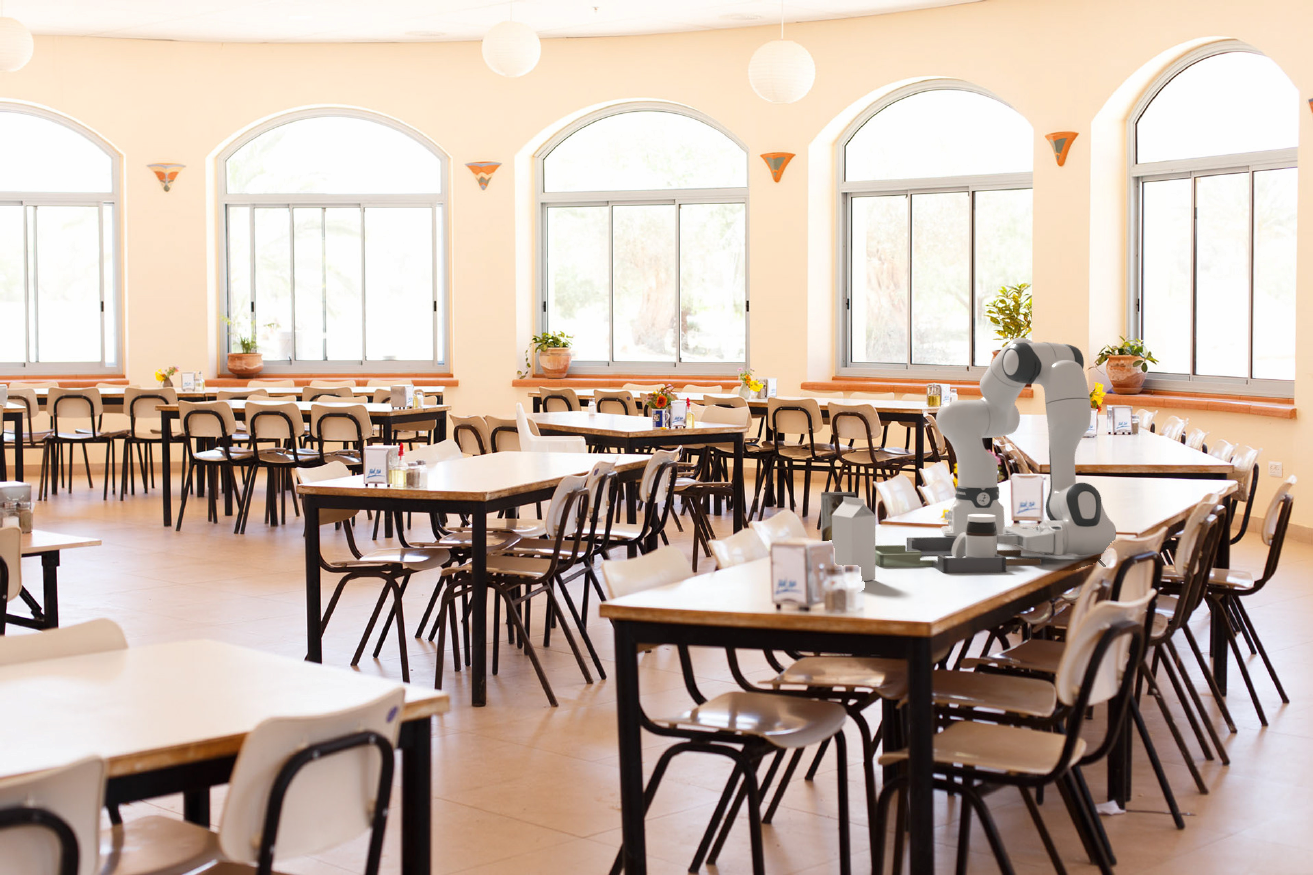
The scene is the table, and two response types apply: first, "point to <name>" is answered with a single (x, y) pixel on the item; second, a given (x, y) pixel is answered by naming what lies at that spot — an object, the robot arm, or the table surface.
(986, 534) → the spread jar
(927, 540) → the grey open tray
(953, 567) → the dark grey shallow tray
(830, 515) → the coffee box
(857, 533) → the milk carton
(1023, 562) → the lane
